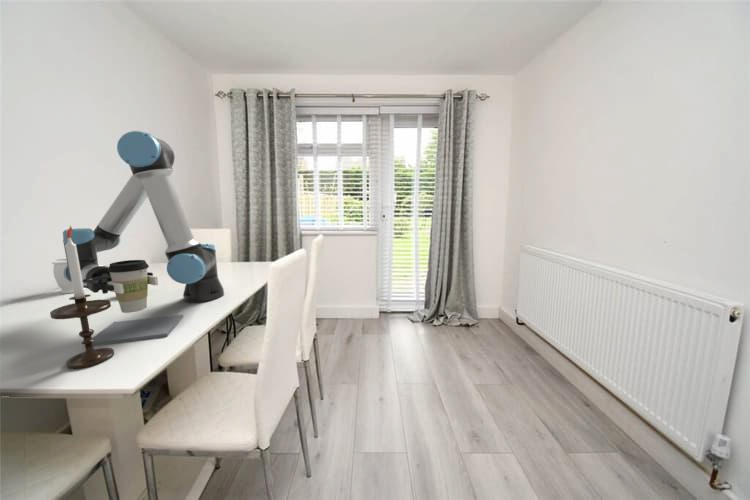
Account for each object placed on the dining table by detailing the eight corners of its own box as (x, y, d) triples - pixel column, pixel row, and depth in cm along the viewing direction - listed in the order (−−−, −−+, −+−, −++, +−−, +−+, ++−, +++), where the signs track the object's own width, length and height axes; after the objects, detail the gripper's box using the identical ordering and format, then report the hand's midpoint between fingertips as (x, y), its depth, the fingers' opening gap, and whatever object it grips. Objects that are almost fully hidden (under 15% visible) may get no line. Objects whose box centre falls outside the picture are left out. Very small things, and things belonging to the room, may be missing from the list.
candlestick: (128, 347, 83) (108, 223, 77) (97, 369, 72) (71, 227, 66) (85, 350, 81) (62, 224, 76) (47, 373, 71) (17, 228, 65)
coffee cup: (131, 316, 87) (124, 266, 84) (104, 313, 89) (97, 265, 86) (161, 305, 96) (156, 260, 94) (137, 302, 98) (131, 258, 96)
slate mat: (183, 317, 105) (182, 314, 104) (167, 336, 90) (166, 333, 89) (114, 324, 98) (114, 321, 98) (85, 346, 83) (84, 343, 83)
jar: (50, 294, 132) (44, 261, 130) (77, 287, 142) (71, 257, 140) (70, 295, 131) (63, 262, 128) (95, 288, 141) (90, 257, 138)
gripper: (137, 280, 109) (176, 287, 100) (57, 296, 89) (97, 307, 80) (134, 260, 107) (174, 265, 98) (53, 272, 88) (93, 281, 79)
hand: (139, 284), depth 89 cm, fingers closed on coffee cup, 9 cm apart
